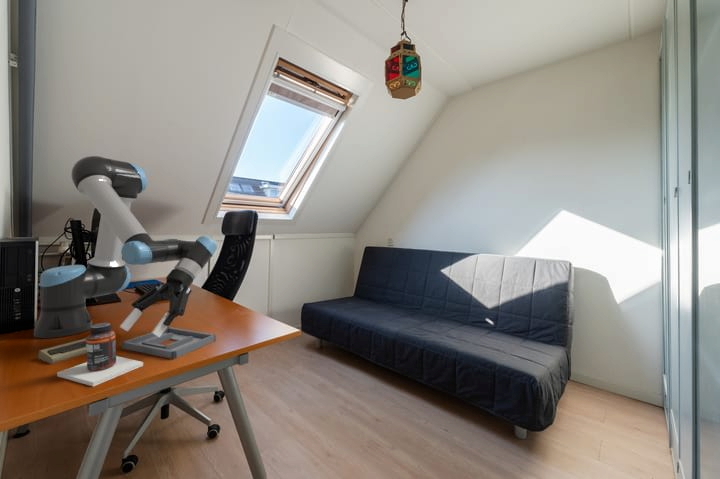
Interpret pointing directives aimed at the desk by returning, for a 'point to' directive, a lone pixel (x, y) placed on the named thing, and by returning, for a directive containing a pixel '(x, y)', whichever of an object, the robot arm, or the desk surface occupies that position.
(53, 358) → the computer
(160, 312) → the desk surface
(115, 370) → the white mat
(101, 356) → the supplement bottle
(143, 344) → the grey rectangular frame tray
